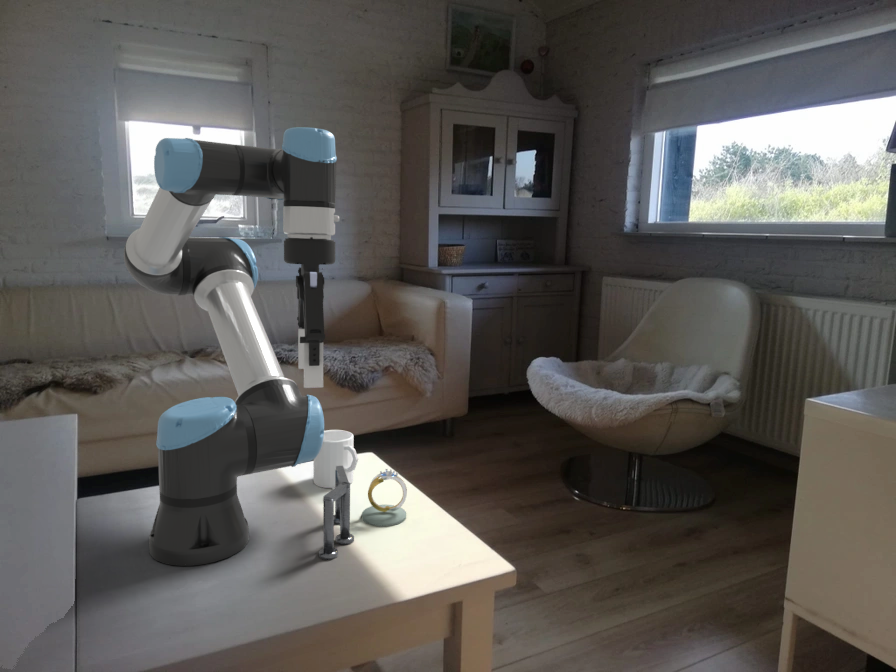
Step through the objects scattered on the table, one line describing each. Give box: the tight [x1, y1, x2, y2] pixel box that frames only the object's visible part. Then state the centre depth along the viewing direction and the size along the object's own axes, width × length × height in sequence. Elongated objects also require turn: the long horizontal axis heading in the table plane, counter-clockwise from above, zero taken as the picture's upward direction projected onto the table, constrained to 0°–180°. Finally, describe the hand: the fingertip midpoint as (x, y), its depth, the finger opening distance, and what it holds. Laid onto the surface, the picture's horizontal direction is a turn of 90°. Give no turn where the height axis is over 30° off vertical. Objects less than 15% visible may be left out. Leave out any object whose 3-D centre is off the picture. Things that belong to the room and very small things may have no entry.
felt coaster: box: [361, 504, 407, 527], centre depth 118 cm, size 8×8×1 cm
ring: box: [367, 468, 408, 514], centre depth 118 cm, size 7×3×8 cm, turn 90°
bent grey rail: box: [318, 466, 355, 561], centre depth 109 cm, size 8×15×10 cm, turn 161°
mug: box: [313, 429, 359, 489], centre depth 133 cm, size 8×12×10 cm
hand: (310, 377), depth 100 cm, fingers open, 13 cm apart
